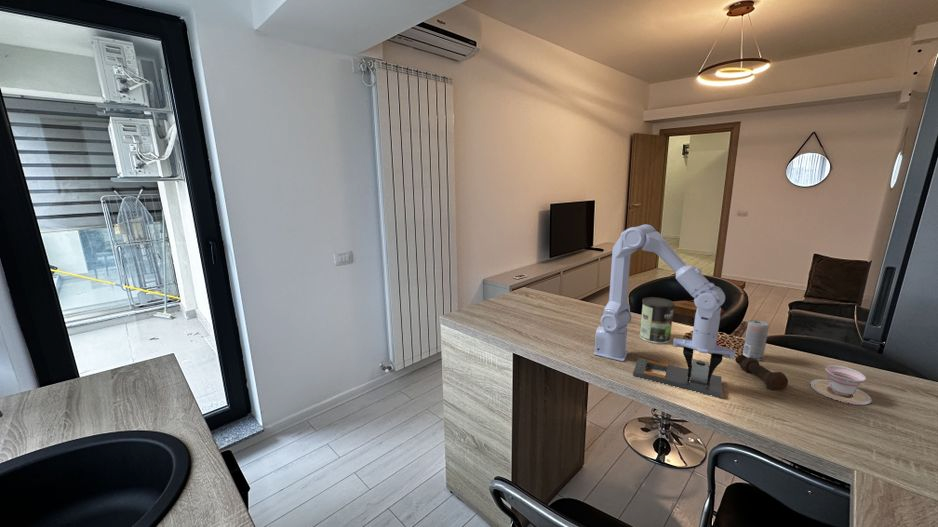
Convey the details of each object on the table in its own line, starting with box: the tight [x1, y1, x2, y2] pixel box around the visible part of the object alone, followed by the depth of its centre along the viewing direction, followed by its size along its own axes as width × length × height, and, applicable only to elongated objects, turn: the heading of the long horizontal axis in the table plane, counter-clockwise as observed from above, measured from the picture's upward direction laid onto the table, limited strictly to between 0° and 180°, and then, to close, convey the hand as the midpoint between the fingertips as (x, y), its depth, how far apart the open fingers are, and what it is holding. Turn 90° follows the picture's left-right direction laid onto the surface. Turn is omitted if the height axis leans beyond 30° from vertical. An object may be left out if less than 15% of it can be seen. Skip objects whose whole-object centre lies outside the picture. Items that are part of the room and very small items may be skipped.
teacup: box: [810, 364, 872, 406], centre depth 101 cm, size 12×12×6 cm
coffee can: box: [639, 296, 675, 345], centre depth 135 cm, size 10×10×14 cm
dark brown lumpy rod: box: [734, 354, 789, 392], centre depth 109 cm, size 6×5×15 cm
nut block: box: [689, 358, 710, 386], centre depth 105 cm, size 4×4×6 cm
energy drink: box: [742, 319, 770, 362], centre depth 120 cm, size 5×5×12 cm
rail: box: [632, 357, 723, 399], centre depth 109 cm, size 22×10×2 cm, turn 57°
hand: (699, 374), depth 106 cm, fingers closed on nut block, 4 cm apart
